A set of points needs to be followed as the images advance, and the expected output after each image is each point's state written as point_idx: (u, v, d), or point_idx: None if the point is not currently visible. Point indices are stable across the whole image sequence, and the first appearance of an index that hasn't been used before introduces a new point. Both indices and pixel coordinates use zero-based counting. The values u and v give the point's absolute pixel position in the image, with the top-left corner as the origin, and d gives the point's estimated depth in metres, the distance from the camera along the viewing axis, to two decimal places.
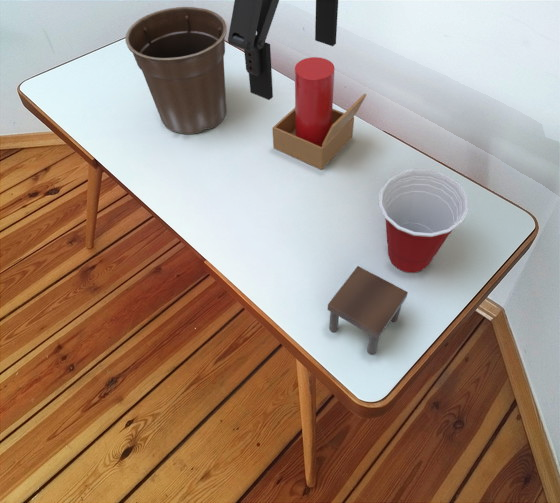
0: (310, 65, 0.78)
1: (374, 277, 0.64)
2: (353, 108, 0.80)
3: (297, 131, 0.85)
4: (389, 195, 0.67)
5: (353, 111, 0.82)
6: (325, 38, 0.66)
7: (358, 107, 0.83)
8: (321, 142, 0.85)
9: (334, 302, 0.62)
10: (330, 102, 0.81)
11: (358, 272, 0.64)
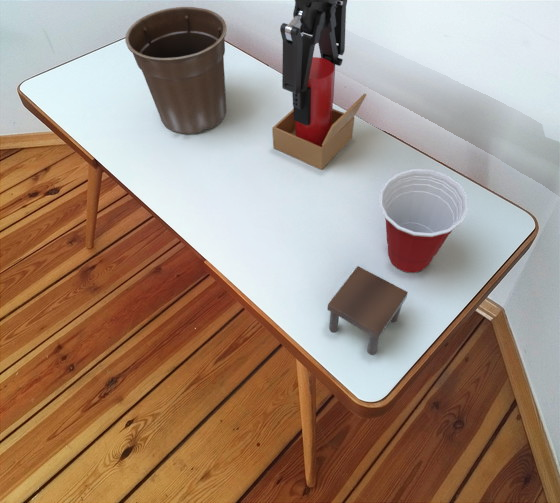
0: None
1: (374, 277, 0.64)
2: (353, 108, 0.80)
3: (297, 131, 0.85)
4: (389, 195, 0.67)
5: (353, 111, 0.82)
6: None
7: (358, 107, 0.83)
8: (321, 142, 0.85)
9: (334, 302, 0.62)
10: (330, 102, 0.81)
11: (358, 272, 0.64)
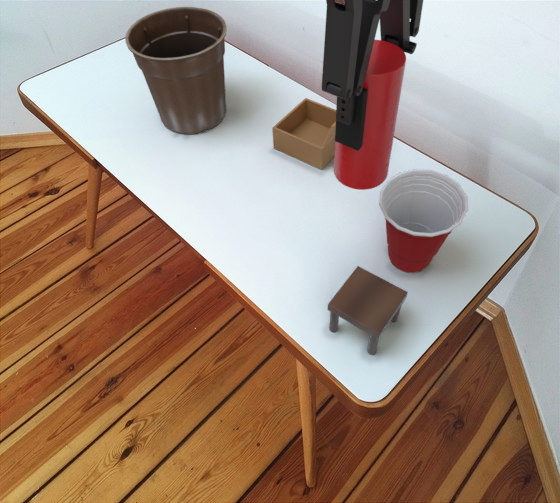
0: None
1: (374, 277, 0.64)
2: None
3: (338, 157, 0.55)
4: (389, 195, 0.67)
5: None
6: None
7: None
8: (376, 174, 0.55)
9: (334, 302, 0.62)
10: (395, 112, 0.50)
11: (358, 272, 0.64)
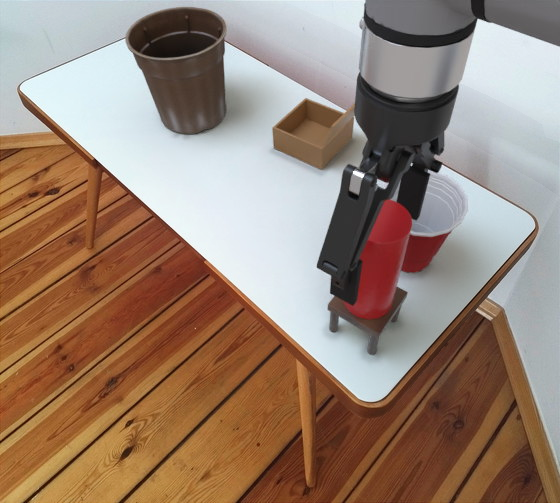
0: None
1: None
2: (353, 108, 0.80)
3: None
4: None
5: (353, 111, 0.82)
6: None
7: None
8: (382, 308, 0.59)
9: (334, 302, 0.62)
10: (401, 263, 0.54)
11: None
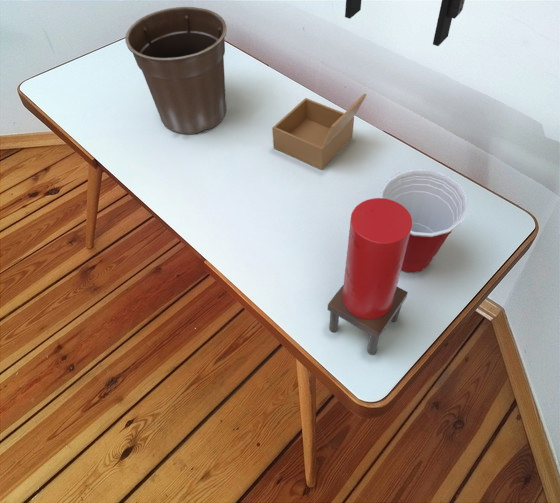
0: (374, 213, 0.51)
1: None
2: (353, 108, 0.80)
3: (347, 292, 0.59)
4: (389, 195, 0.67)
5: (353, 111, 0.82)
6: None
7: (358, 107, 0.83)
8: (382, 308, 0.59)
9: (334, 302, 0.62)
10: (401, 263, 0.54)
11: None
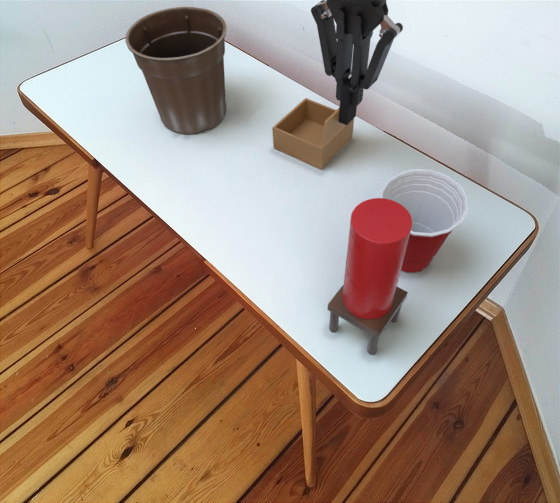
0: (374, 213, 0.51)
1: None
2: None
3: (347, 292, 0.59)
4: (389, 195, 0.67)
5: None
6: None
7: None
8: (382, 308, 0.59)
9: (334, 302, 0.62)
10: (401, 263, 0.54)
11: None
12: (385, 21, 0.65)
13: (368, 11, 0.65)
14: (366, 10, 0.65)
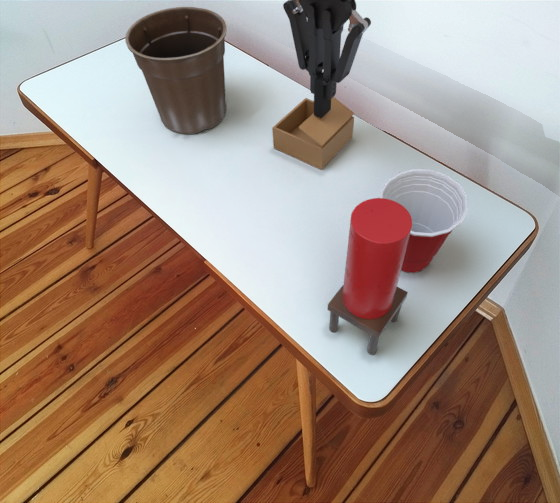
0: (374, 213, 0.51)
1: None
2: None
3: (347, 292, 0.59)
4: (389, 195, 0.67)
5: (332, 110, 0.84)
6: None
7: (341, 106, 0.85)
8: (382, 308, 0.59)
9: (334, 302, 0.62)
10: (401, 263, 0.54)
11: None
12: (353, 16, 0.67)
13: (336, 6, 0.67)
14: (335, 5, 0.67)
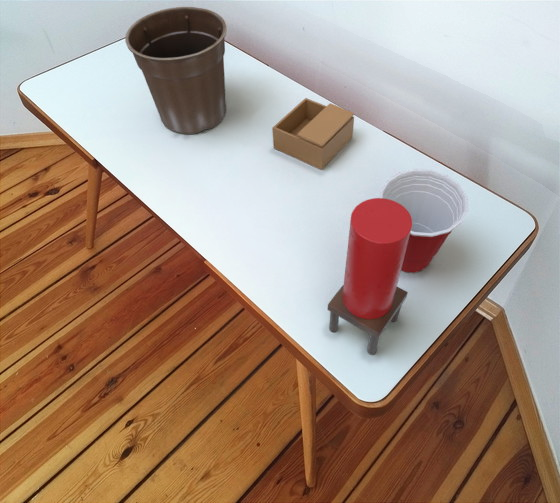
0: (374, 213, 0.51)
1: None
2: (319, 115, 0.85)
3: (347, 292, 0.59)
4: (389, 195, 0.67)
5: (330, 115, 0.85)
6: None
7: (339, 110, 0.86)
8: (382, 308, 0.59)
9: (334, 302, 0.62)
10: (401, 263, 0.54)
11: None
12: None
13: None
14: None
